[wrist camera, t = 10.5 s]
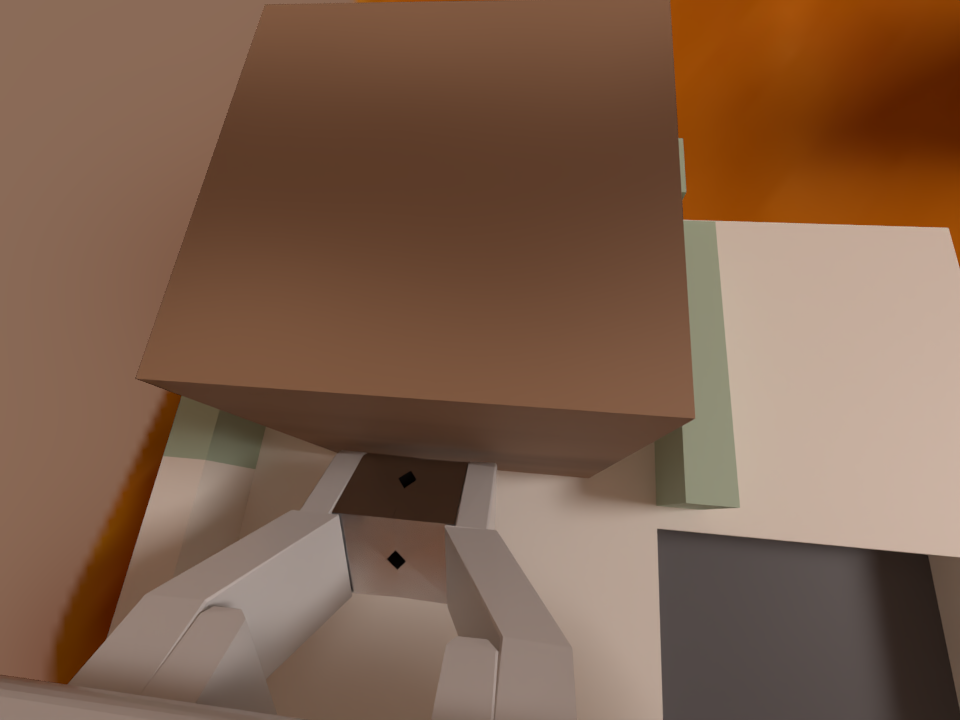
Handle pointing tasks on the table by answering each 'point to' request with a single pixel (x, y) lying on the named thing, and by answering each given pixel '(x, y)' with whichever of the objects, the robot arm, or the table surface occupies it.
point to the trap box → (683, 509)
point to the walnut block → (443, 236)
